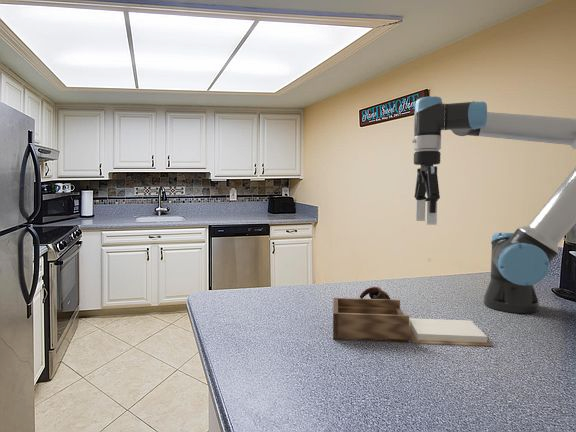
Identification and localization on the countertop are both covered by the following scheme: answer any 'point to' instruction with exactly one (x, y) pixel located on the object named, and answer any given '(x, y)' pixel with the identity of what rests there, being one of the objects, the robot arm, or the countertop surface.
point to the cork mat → (445, 341)
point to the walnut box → (369, 320)
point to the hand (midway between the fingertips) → (425, 222)
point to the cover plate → (446, 330)
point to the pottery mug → (375, 293)
